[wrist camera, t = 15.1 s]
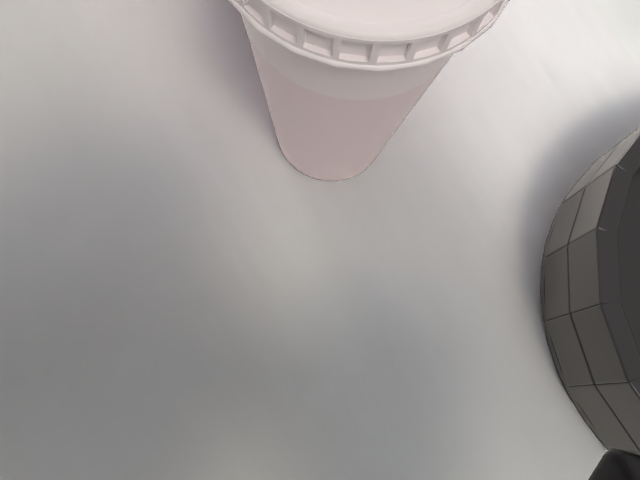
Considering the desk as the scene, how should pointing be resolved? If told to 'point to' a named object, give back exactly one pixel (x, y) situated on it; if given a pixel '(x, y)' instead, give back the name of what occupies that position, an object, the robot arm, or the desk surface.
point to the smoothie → (352, 70)
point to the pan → (598, 295)
